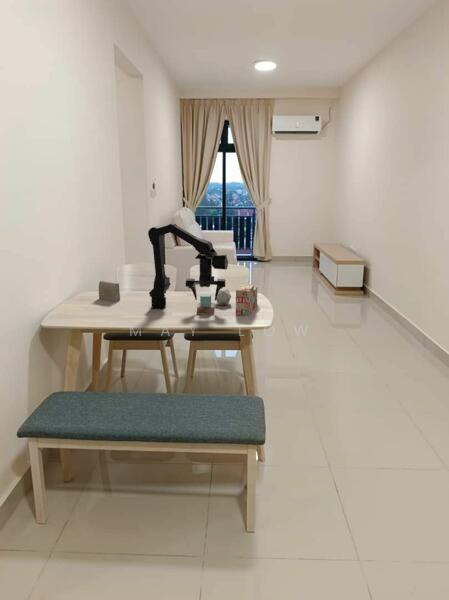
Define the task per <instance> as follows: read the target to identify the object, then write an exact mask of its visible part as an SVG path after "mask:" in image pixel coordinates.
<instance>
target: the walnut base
mask: <svg viewBox="0 0 449 600" xmlns="http://www.w3.org/2000/svg"><path fill="white" fill-rule="evenodd" d="M198 313H213V315H214V314H215V302H211V307H200V302H198V303H197V306H196V314H198Z"/></svg>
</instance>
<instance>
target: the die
mask: <svg viewBox="0 0 449 600" xmlns="http://www.w3.org/2000/svg"><path fill="white" fill-rule="evenodd" d="M231 299H232V295H231V293H230V290H229V288H222V289H220V290H219V292H218V295H217V298H216V303H217V305H218V306H227V305H229V304H230V301H231Z"/></svg>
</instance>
